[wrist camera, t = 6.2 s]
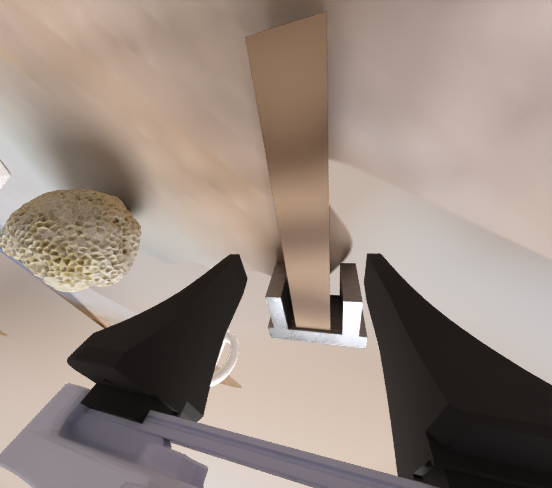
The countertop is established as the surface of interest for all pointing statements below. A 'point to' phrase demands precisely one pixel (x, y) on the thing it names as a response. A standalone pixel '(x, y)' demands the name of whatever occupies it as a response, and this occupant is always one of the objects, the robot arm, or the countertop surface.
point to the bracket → (343, 311)
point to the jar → (3, 175)
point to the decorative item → (73, 238)
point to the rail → (297, 155)
